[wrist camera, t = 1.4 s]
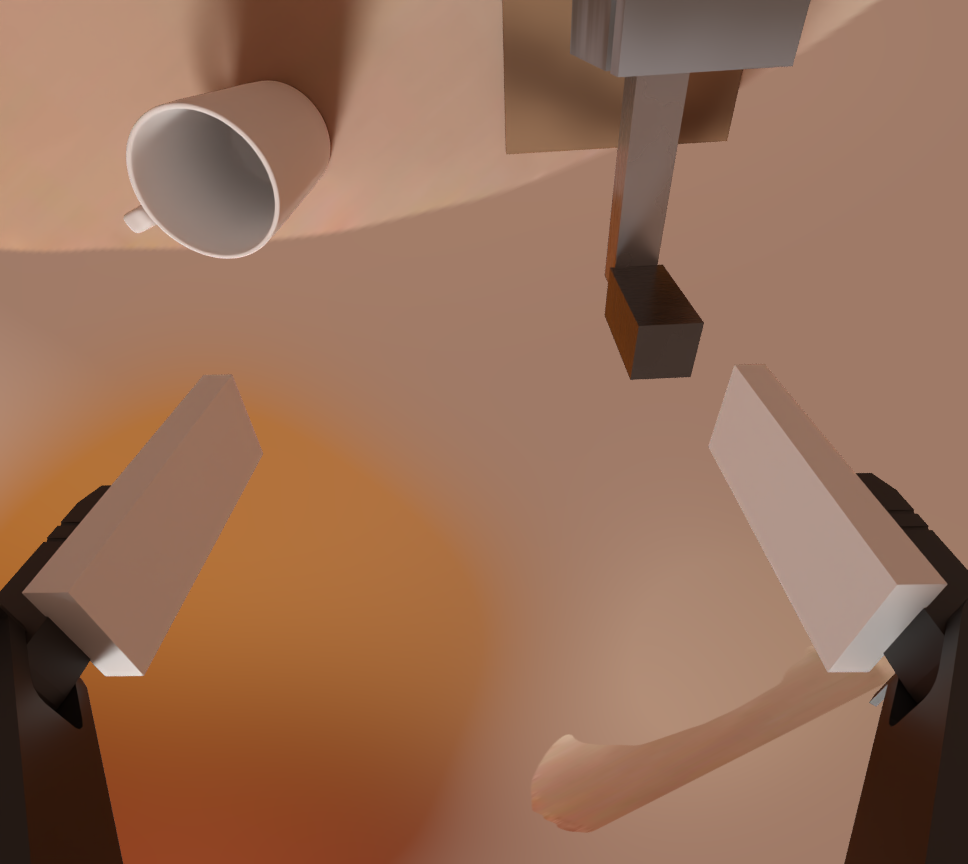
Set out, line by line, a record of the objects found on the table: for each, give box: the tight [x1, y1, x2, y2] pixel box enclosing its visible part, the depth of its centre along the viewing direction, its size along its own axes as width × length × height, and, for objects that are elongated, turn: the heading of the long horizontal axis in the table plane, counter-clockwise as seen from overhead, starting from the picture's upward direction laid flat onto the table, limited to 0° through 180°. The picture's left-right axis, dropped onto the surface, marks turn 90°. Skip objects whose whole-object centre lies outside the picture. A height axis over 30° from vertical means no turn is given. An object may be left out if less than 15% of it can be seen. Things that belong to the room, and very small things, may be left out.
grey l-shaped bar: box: [605, 73, 704, 380], centre depth 21 cm, size 26×3×9 cm, turn 3°
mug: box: [124, 81, 330, 258], centre depth 29 cm, size 10×7×12 cm, turn 112°
